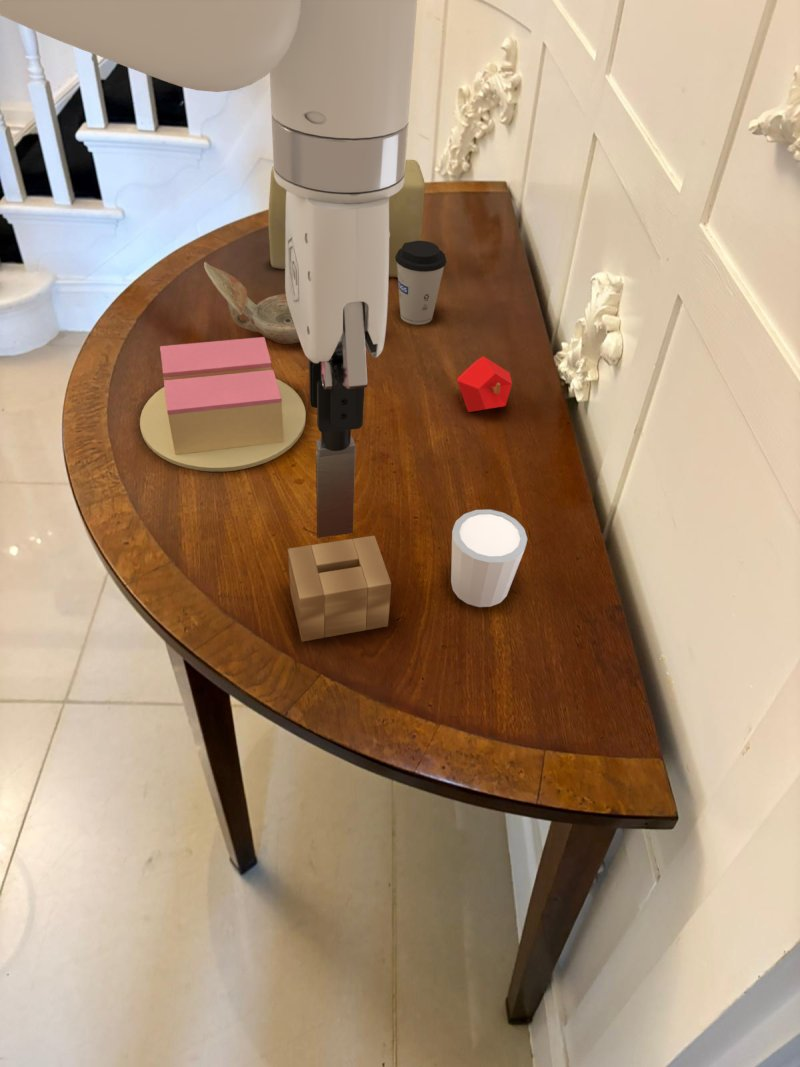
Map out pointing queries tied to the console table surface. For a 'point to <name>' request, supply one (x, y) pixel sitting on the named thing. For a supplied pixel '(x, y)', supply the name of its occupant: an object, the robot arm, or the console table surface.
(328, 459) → the knife
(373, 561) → the knife block
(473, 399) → the apple
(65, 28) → the robot arm
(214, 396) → the cake
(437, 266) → the coffee cup
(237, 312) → the oil lamp
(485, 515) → the white cylinder
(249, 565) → the console table surface
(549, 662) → the console table surface
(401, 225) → the cheese
